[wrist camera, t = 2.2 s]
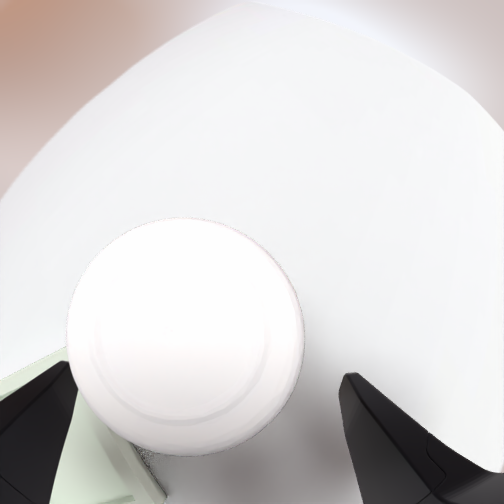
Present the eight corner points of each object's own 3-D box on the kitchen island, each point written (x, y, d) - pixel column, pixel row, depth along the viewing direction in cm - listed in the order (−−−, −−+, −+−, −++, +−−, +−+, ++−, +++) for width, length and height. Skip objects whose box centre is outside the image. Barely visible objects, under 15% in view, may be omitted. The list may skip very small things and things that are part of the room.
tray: (167, 496, 13) (159, 509, 11) (53, 521, 11) (39, 530, 8) (86, 348, 17) (70, 343, 15) (-9, 395, 14) (-27, 393, 12)
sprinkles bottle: (202, 312, 18) (140, 176, 6) (269, 345, 18) (349, 273, 5) (167, 376, 16) (23, 364, 4) (235, 411, 16) (235, 504, 4)
